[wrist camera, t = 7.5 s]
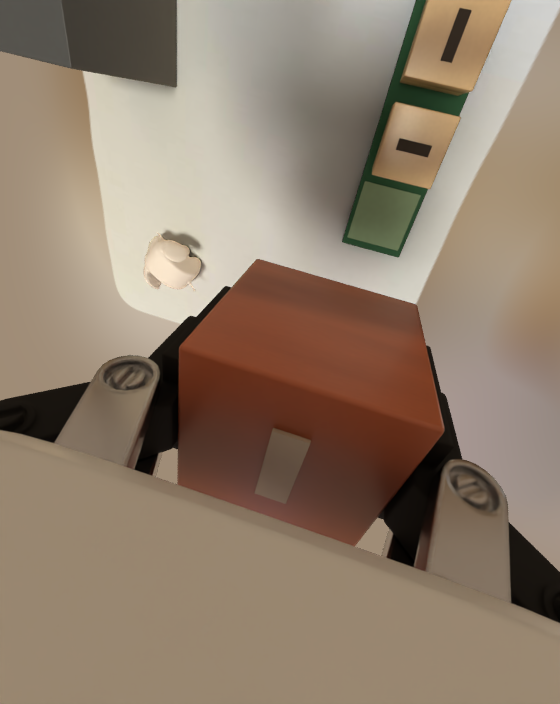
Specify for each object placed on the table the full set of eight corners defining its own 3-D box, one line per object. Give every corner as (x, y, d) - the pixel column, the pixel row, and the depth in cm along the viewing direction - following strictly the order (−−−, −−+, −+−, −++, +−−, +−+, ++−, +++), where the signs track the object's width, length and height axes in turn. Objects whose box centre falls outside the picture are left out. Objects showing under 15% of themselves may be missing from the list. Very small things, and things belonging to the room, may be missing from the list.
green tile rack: (422, -20, 25) (432, -53, 20) (507, -2, 24) (538, -32, 20) (342, 240, 37) (337, 257, 32) (398, 255, 36) (401, 275, 32)
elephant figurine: (175, 213, 40) (147, 226, 35) (222, 264, 42) (202, 282, 37) (147, 249, 43) (119, 264, 39) (192, 293, 46) (171, 313, 41)
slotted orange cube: (256, 257, 10) (174, 349, 6) (418, 303, 10) (448, 435, 6) (237, 376, 13) (174, 493, 9) (360, 416, 13) (352, 555, 9)
